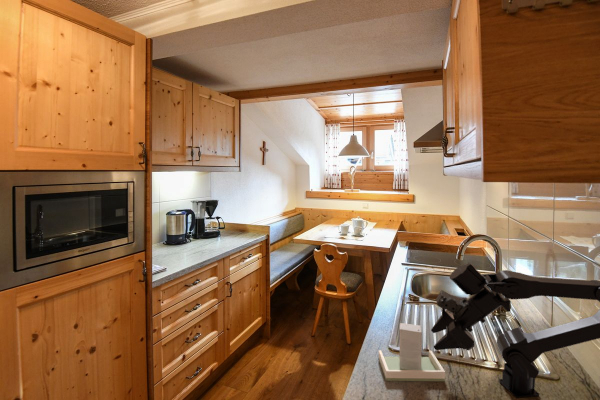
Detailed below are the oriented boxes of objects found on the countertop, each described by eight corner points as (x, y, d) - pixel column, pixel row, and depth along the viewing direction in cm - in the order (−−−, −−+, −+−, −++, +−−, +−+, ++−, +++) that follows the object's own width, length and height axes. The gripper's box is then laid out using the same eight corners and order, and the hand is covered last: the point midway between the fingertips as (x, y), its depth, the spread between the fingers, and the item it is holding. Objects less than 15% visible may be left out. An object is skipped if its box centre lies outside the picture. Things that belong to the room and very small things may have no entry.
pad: (431, 359, 97) (431, 350, 96) (444, 381, 87) (445, 371, 86) (378, 358, 97) (378, 350, 97) (386, 380, 87) (386, 371, 87)
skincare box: (420, 364, 93) (421, 325, 92) (421, 372, 89) (422, 332, 88) (399, 360, 95) (399, 322, 94) (398, 368, 91) (399, 329, 90)
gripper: (451, 273, 95) (411, 304, 99) (460, 297, 77) (412, 334, 82) (479, 301, 93) (438, 331, 98) (496, 332, 75) (445, 368, 80)
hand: (433, 339), depth 89 cm, fingers open, 9 cm apart
